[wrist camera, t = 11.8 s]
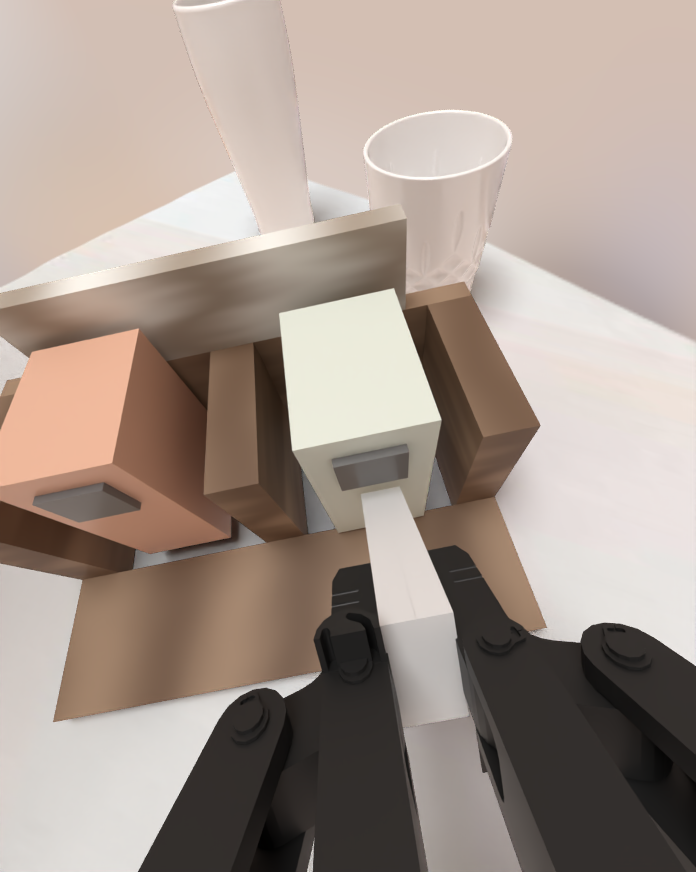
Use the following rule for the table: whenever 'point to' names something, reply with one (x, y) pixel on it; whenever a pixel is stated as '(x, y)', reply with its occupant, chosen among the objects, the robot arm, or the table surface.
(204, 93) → the drinking glass
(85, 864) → the table surface
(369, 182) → the white cup
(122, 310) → the wooden rack
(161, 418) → the peach rectangular block
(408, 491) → the cream rectangular block
